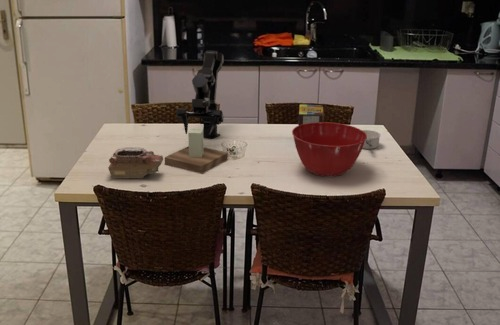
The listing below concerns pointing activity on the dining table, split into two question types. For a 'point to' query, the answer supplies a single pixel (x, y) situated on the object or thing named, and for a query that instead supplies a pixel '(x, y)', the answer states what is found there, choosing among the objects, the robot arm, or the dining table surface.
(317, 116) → the protein box
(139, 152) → the decorative box
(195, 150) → the sage block
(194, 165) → the walnut base
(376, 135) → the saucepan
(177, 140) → the dining table surface
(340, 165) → the mixing bowl
